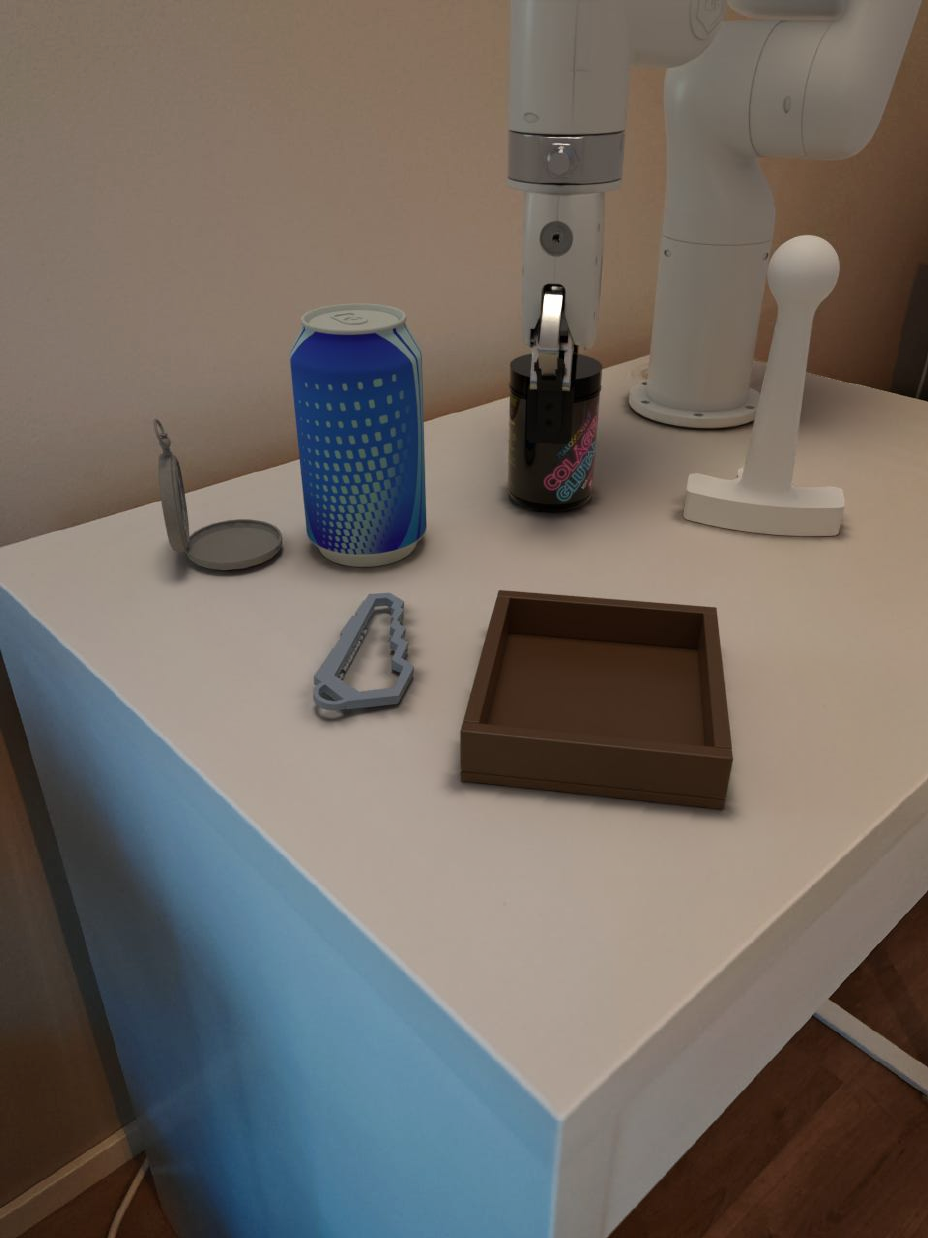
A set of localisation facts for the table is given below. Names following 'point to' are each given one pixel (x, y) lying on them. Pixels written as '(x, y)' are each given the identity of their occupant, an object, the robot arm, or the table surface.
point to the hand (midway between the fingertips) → (553, 421)
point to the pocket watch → (215, 542)
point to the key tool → (343, 655)
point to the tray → (600, 700)
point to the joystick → (778, 415)
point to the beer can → (360, 432)
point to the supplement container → (554, 469)
